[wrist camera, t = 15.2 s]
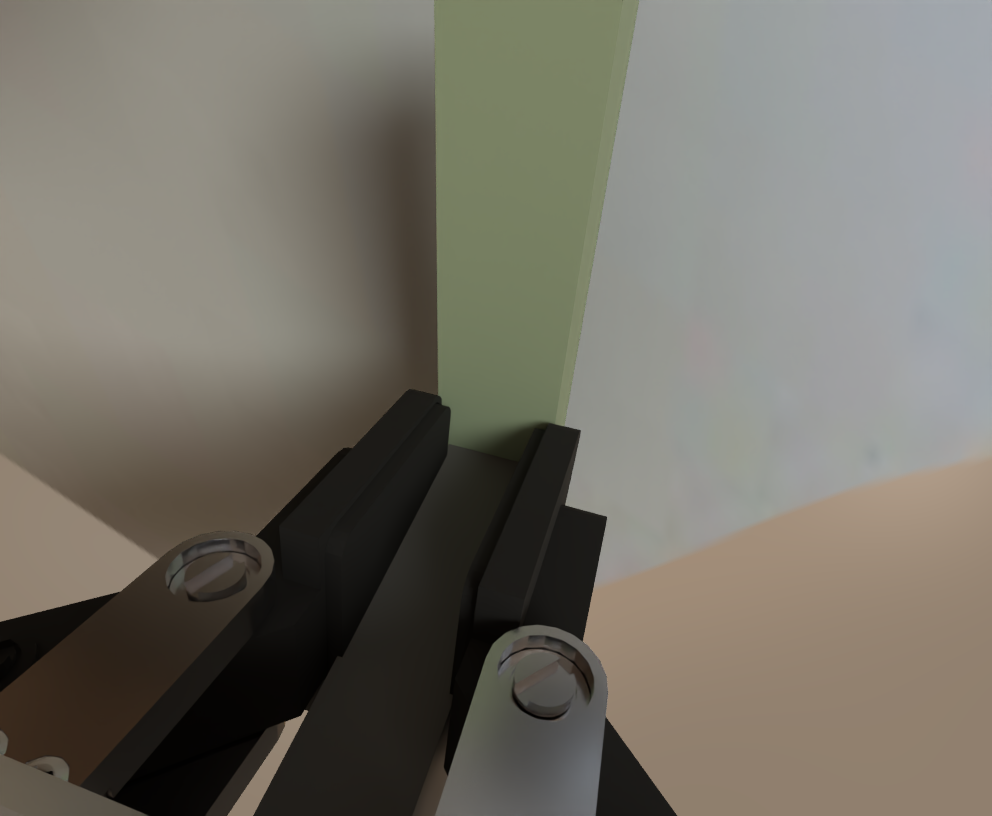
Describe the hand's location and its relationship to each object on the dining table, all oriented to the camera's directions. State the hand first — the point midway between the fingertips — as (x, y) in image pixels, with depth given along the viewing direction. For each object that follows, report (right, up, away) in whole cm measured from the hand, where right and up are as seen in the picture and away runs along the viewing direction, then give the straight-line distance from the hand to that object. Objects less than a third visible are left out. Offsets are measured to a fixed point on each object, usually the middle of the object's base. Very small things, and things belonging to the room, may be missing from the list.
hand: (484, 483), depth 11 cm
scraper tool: (+1, +3, 0) cm, 3 cm away
